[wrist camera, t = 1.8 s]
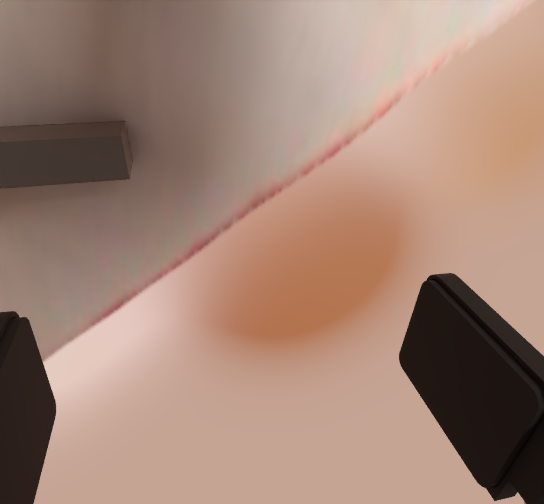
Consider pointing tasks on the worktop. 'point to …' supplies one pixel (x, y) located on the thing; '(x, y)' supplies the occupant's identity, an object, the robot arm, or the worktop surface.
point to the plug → (64, 154)
